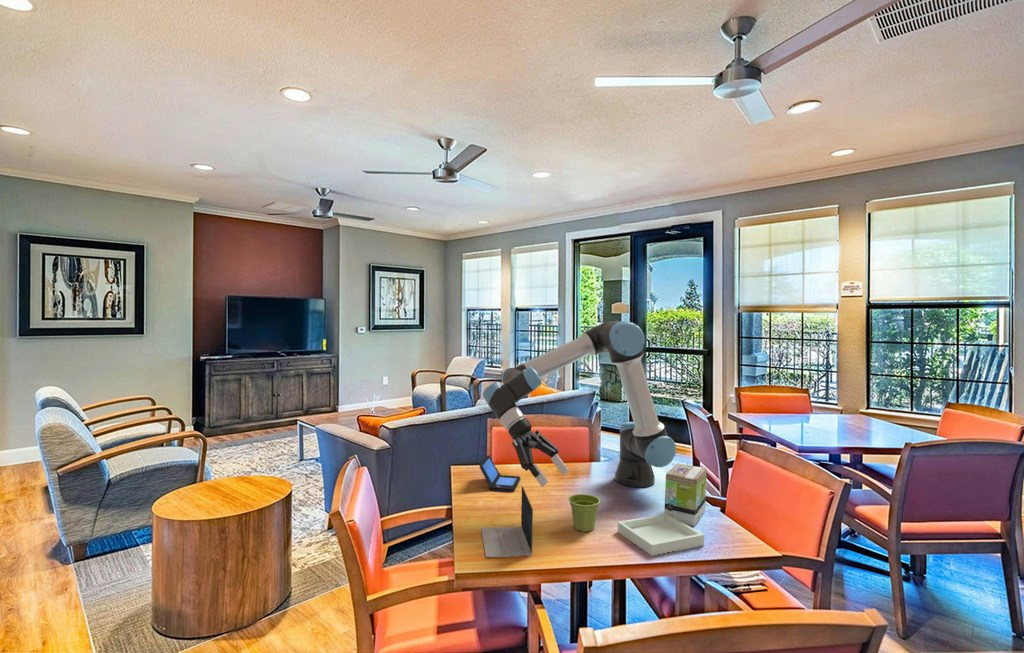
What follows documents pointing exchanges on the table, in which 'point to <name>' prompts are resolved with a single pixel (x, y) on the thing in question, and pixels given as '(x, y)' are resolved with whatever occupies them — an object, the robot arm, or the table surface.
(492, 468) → the handheld game console
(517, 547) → the laptop
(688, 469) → the tea box
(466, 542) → the table surface
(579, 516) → the plant pot
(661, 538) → the sage tray
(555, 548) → the table surface
